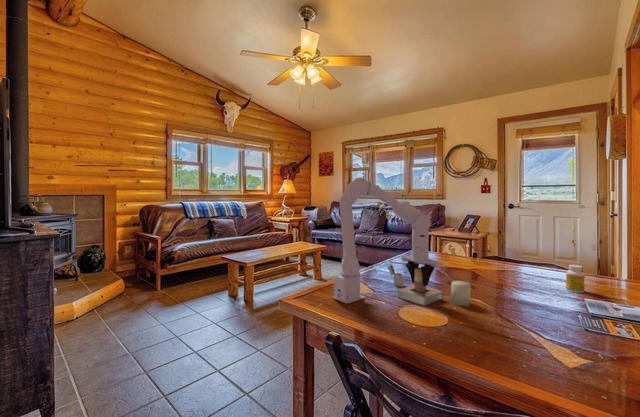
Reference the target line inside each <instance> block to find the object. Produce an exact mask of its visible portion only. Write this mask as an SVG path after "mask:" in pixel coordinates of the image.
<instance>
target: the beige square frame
mask: <svg viewBox="0 0 640 417" xmlns="http://www.w3.org/2000/svg"><path fill="white" fill-rule="evenodd" d="M397 298H398V299H400V300H403V301H407V302H410V303H412V304H416V305H417V306H418V305H419V306H422V307H426V306H429V305H431V304H434V303H437V302H439V301H442V300H443V290H439V289H437V288H432V287H428V286H426V292H416V291H414V284H413V285H409V286H406V287H405V286H404V287H401V288H399V289H398V290H397Z"/></svg>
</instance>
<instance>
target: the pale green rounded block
mask: <svg viewBox="0 0 640 417" xmlns="http://www.w3.org/2000/svg"><path fill="white" fill-rule="evenodd" d="M450 284H451V287H450V288H451V289H450V294H451V296H450V298H451V299H450V303H451V304H452V305H455V306H459V307H468V306H471V283H470V282H468V281H463V280H452V281H451V283H450Z"/></svg>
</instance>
